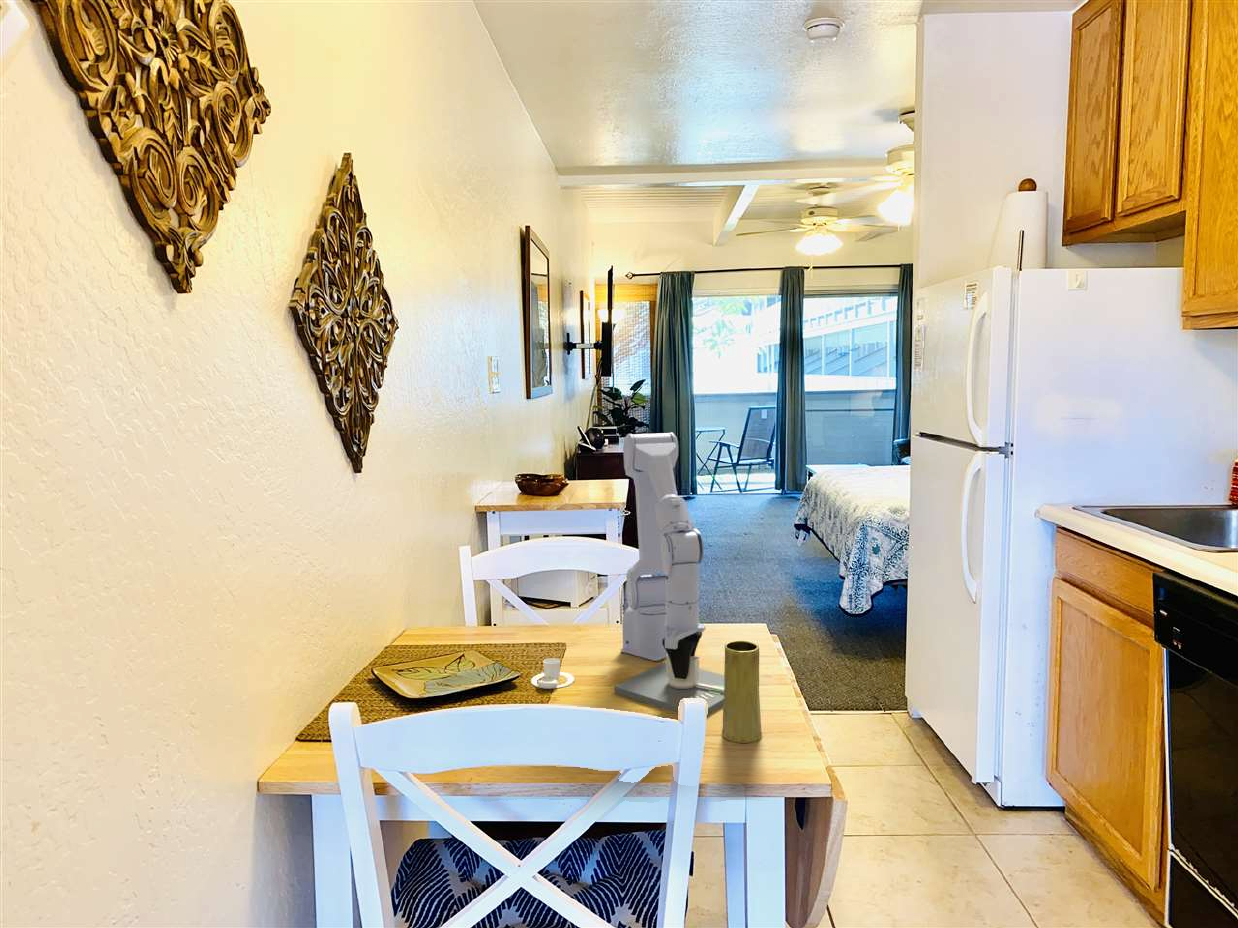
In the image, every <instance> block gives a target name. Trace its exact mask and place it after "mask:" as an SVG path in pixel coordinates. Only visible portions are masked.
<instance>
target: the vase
mask: <svg viewBox="0 0 1238 928" xmlns="http://www.w3.org/2000/svg"><path fill="white" fill-rule="evenodd" d="M723 671H724V672H723V673H724V674H723V675H724V703H723V706H722V729H721V734H722V736H723V738H725V739H726V740H728V741H730V742H733V743H736V744H737V743H738V744H751V743H755V742H756V741H759V740H760V739H761V738H762V721H761V720H762V719H761V699H760V647H759V645H758V644H757V643H756V642H754V641H749V640H744V639H743V640H742V639H741V640H739V639H738V640H731V641H728V642H726V643H725V644H724V670H723Z"/></svg>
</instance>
